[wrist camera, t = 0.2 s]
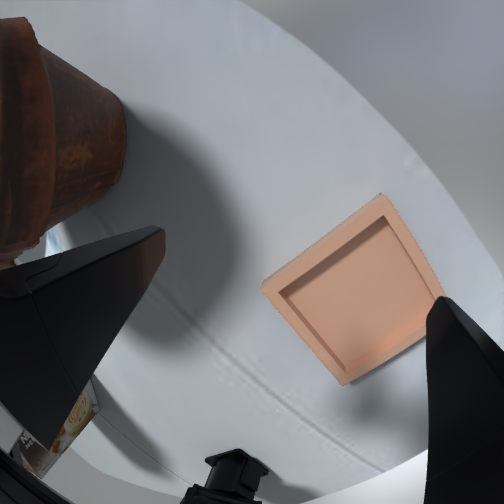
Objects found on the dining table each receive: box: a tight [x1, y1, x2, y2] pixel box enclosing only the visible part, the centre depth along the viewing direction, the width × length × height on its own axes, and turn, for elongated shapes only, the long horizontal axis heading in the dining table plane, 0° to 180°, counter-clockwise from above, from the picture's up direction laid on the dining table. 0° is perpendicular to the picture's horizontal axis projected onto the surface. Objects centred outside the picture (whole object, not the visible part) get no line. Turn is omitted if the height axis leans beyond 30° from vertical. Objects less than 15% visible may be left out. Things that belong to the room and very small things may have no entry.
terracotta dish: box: [260, 193, 447, 386], centre depth 24 cm, size 12×12×2 cm
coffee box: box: [18, 379, 100, 479], centre depth 28 cm, size 9×6×16 cm
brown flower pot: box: [0, 17, 126, 270], centre depth 17 cm, size 18×20×18 cm
